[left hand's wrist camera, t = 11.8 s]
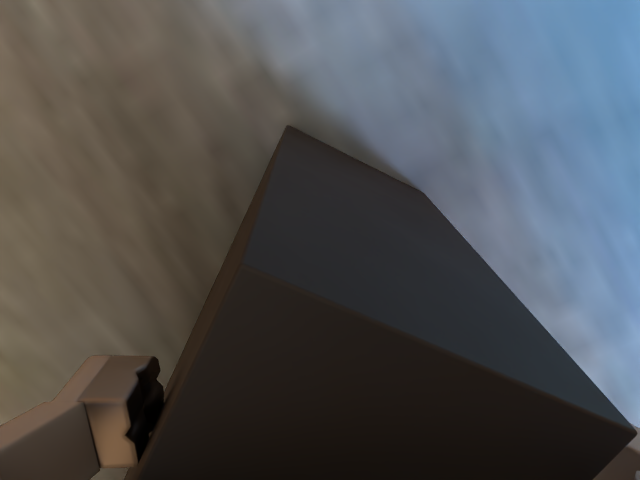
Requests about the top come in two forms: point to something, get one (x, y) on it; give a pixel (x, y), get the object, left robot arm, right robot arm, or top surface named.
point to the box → (369, 349)
